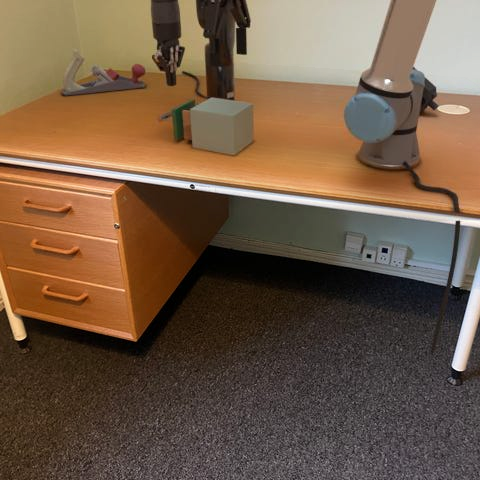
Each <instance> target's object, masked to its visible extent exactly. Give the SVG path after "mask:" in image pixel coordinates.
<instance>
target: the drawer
mask: <svg viewBox="0 0 480 480" xmlns="http://www.w3.org/2000/svg"><path fill="white" fill-rule="evenodd" d="M200 103H201V102H199V101H198V102H196V99H195V98H191V99H188V100H186V101H185V102H183V103H181V104H179V105H177V106H175V107H173V108H171V109H170V110H168V111H166V112H165V113H162V114H160V115H159V116H157V117H156V120H157V122H158V123H162V122H168V123H172V129H173V140H174V141H179V140H181V139H182V138H183V139H184V140H188V141H189V140H190V141H192V132H191V118H190V109H191V108H193V107H195V106H197V105H199V104H200ZM171 118H172V119H171Z"/></svg>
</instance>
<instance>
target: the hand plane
mask: <svg viewBox="0 0 480 480" xmlns="http://www.w3.org/2000/svg"><path fill="white" fill-rule="evenodd" d="M85 59H86V58H85V56H84V55H83V54H82V53H81V52H80V51H79V50H77V49H76V48H73V50H72V58H71V62H70V63H69V65H68V67H67V68H66V70H65V72H64V74H63V80H62V84H63V88H62V90H61V93H62V95H63V96H74V95H84V94H94V93H104V92H112V91H113V92H114V91H121V90H132V89H142V88H146V83H145V81H143V80H139V78H142V77H144V76H145V75H146V68H145V66H143V65H141V64H139V63H134V64H133V65H132V66H131V73H132V76H131V78H130V77H126V76H123V75H120V74H119V73H117V72H116V71H114V70H113V69H112V68H111V67H109V68H108V70H107V71H105V70H104V69H103V68H102V67H100V65H94V66H92V68H91V70H90V72H91V75H93V76H94V77H97V78H95V79H90V81H89V82H86V83H80V84H78V83H77V82H76V81H75V78H76V74H77V72H78V71H79V69H80V68H81V66H82V65H83V63H84V61H85Z"/></svg>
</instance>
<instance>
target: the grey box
mask: <svg viewBox="0 0 480 480" xmlns="http://www.w3.org/2000/svg"><path fill="white" fill-rule="evenodd" d="M190 118H191V132H192V140H191V143H192V144H191V145H192V149H197V150H203V151H209V152H214V153H219V154H224V155H229V156H236V155H237V154H238V153H240V152H241V151H242V150H244V149H245V148H247V147H248V146H249V145H251V144H252V143H253V142H254V103H253V102H247V101H239V100H235V101H233V100H226V99H219V98H210V99H208V100H207V99H205V100H204V101H202V102H200V104H199V105H197V104H196V105H195V107H193V108H191V109H190Z"/></svg>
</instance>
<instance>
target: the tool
mask: <svg viewBox="0 0 480 480" xmlns="http://www.w3.org/2000/svg"><path fill="white" fill-rule="evenodd" d="M413 69H414V70H418V69H417V68H416V67H415V66H413ZM424 84H425V87H424V89H423V95H422V101H421V107H420V113H422V112H424V111H425V110H426V109H427V108H428V107H429V108H430V109H431V110H432V111H436V110H437V109H438V108H439V104H437V103H436V101H434V99H436V98H437V97H438V93H437V86H435V85H434V83H432V82H431V81H430V80H429V79H428V78H427V77H425V81H424Z"/></svg>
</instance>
